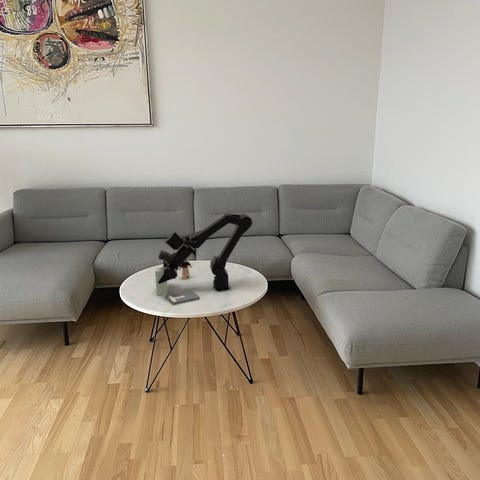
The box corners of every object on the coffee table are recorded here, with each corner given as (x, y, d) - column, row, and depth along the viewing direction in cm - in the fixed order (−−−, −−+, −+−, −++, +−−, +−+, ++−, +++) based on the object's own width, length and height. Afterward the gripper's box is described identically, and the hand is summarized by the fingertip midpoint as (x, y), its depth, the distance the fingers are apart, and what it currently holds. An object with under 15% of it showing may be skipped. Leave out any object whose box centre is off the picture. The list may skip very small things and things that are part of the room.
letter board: (191, 292, 212) (191, 289, 212) (199, 299, 203) (199, 296, 203) (165, 297, 206) (165, 294, 206) (172, 305, 198) (172, 302, 197)
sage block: (167, 290, 214) (165, 267, 211) (167, 294, 209) (166, 270, 206) (156, 291, 213) (155, 267, 210) (156, 295, 209) (155, 271, 205)
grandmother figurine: (188, 275, 234) (186, 252, 231) (193, 277, 232) (192, 253, 228) (177, 279, 228) (175, 256, 225) (182, 281, 226) (181, 257, 223)
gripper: (167, 239, 215) (145, 263, 216) (168, 250, 197) (144, 276, 198) (184, 254, 218) (163, 277, 219) (187, 266, 200) (163, 291, 201)
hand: (158, 279), depth 209 cm, fingers open, 9 cm apart
